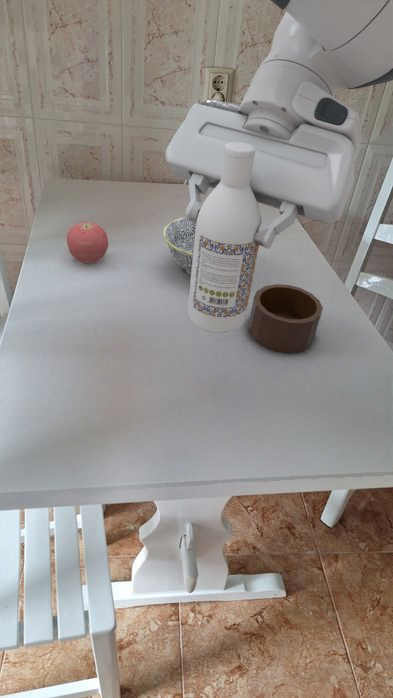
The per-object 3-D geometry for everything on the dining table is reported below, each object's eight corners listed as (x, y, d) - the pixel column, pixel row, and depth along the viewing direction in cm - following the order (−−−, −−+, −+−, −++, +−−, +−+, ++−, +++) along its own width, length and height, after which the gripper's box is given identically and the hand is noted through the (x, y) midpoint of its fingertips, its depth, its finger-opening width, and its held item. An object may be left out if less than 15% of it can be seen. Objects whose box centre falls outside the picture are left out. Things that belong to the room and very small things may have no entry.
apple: (64, 254, 94) (60, 215, 89) (100, 249, 97) (99, 211, 92) (75, 273, 90) (72, 233, 85) (113, 266, 93) (112, 227, 88)
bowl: (237, 299, 88) (243, 262, 83) (152, 283, 89) (153, 245, 85) (247, 258, 100) (254, 224, 95) (172, 244, 102) (175, 210, 97)
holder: (305, 315, 86) (313, 286, 82) (319, 354, 78) (329, 324, 74) (244, 312, 85) (250, 282, 81) (253, 351, 77) (259, 321, 73)
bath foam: (251, 333, 57) (287, 159, 44) (194, 337, 55) (214, 158, 43) (235, 300, 62) (263, 135, 49) (181, 302, 60) (196, 133, 48)
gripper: (189, 75, 52) (133, 190, 52) (376, 118, 45) (313, 251, 45) (205, 113, 58) (155, 216, 58) (373, 156, 51) (318, 274, 51)
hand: (226, 232), depth 51 cm, fingers closed on bath foam, 7 cm apart
